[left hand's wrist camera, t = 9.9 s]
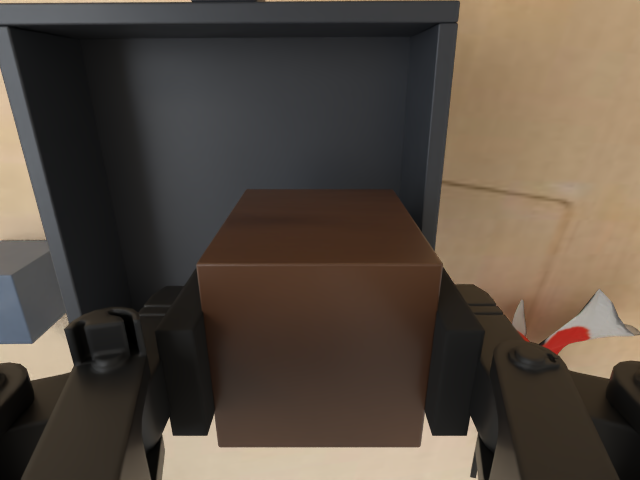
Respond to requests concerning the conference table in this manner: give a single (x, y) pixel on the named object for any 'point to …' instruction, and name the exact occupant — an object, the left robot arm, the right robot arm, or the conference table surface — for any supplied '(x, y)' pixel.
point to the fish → (581, 324)
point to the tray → (215, 121)
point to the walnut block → (319, 319)
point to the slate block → (27, 291)
